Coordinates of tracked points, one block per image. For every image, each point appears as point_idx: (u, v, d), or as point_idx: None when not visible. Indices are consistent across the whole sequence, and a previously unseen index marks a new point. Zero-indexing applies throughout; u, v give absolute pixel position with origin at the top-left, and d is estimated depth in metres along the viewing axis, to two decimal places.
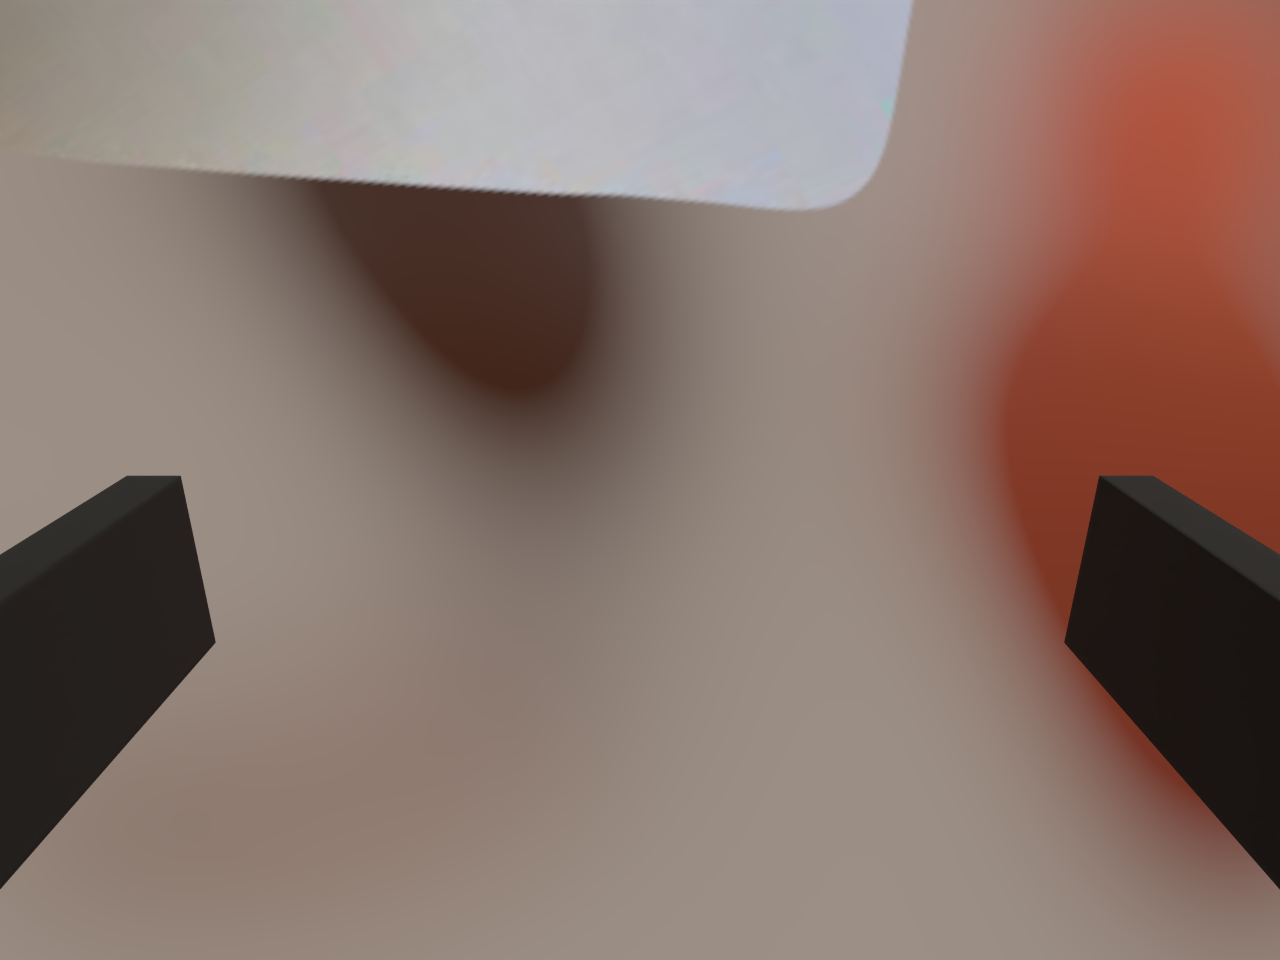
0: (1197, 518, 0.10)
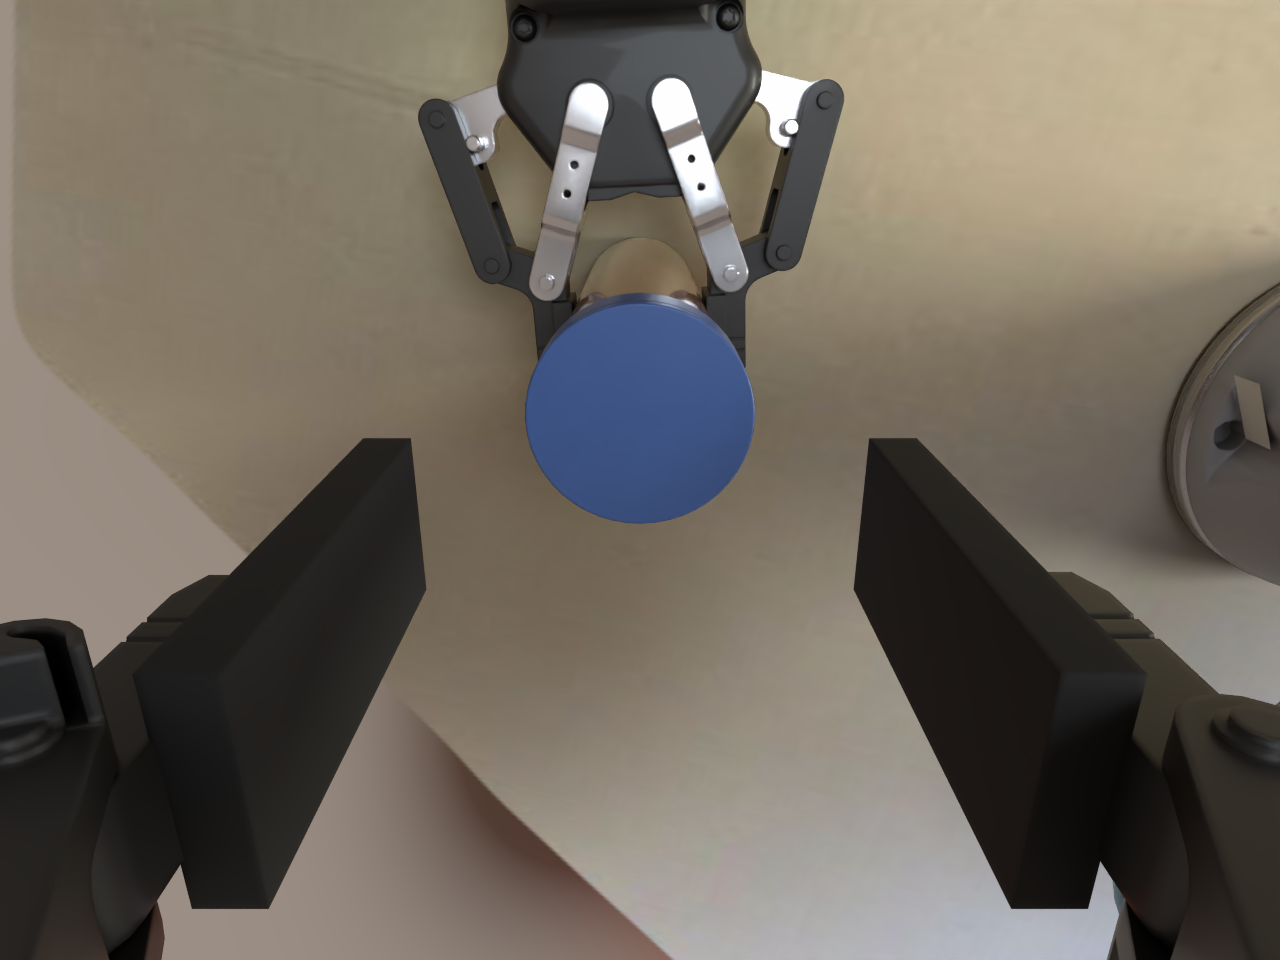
0: (927, 471, 0.12)
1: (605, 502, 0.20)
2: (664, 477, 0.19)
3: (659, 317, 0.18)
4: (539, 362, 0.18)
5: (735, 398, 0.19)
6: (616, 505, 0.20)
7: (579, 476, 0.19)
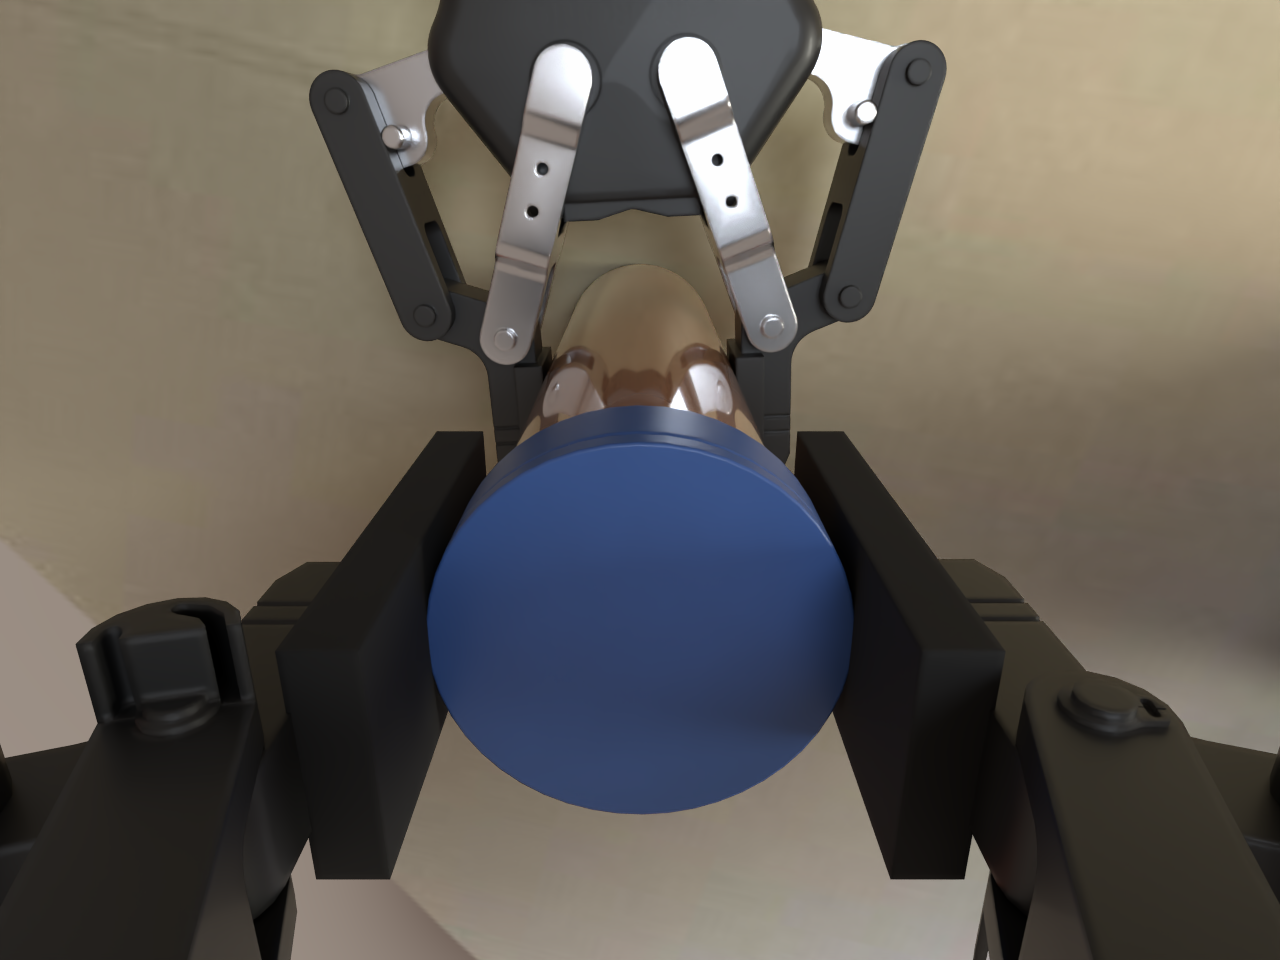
0: (845, 463, 0.12)
1: (578, 781, 0.11)
2: (685, 742, 0.11)
3: (678, 469, 0.09)
4: (449, 549, 0.10)
5: (820, 611, 0.10)
6: (598, 786, 0.11)
7: (530, 740, 0.11)
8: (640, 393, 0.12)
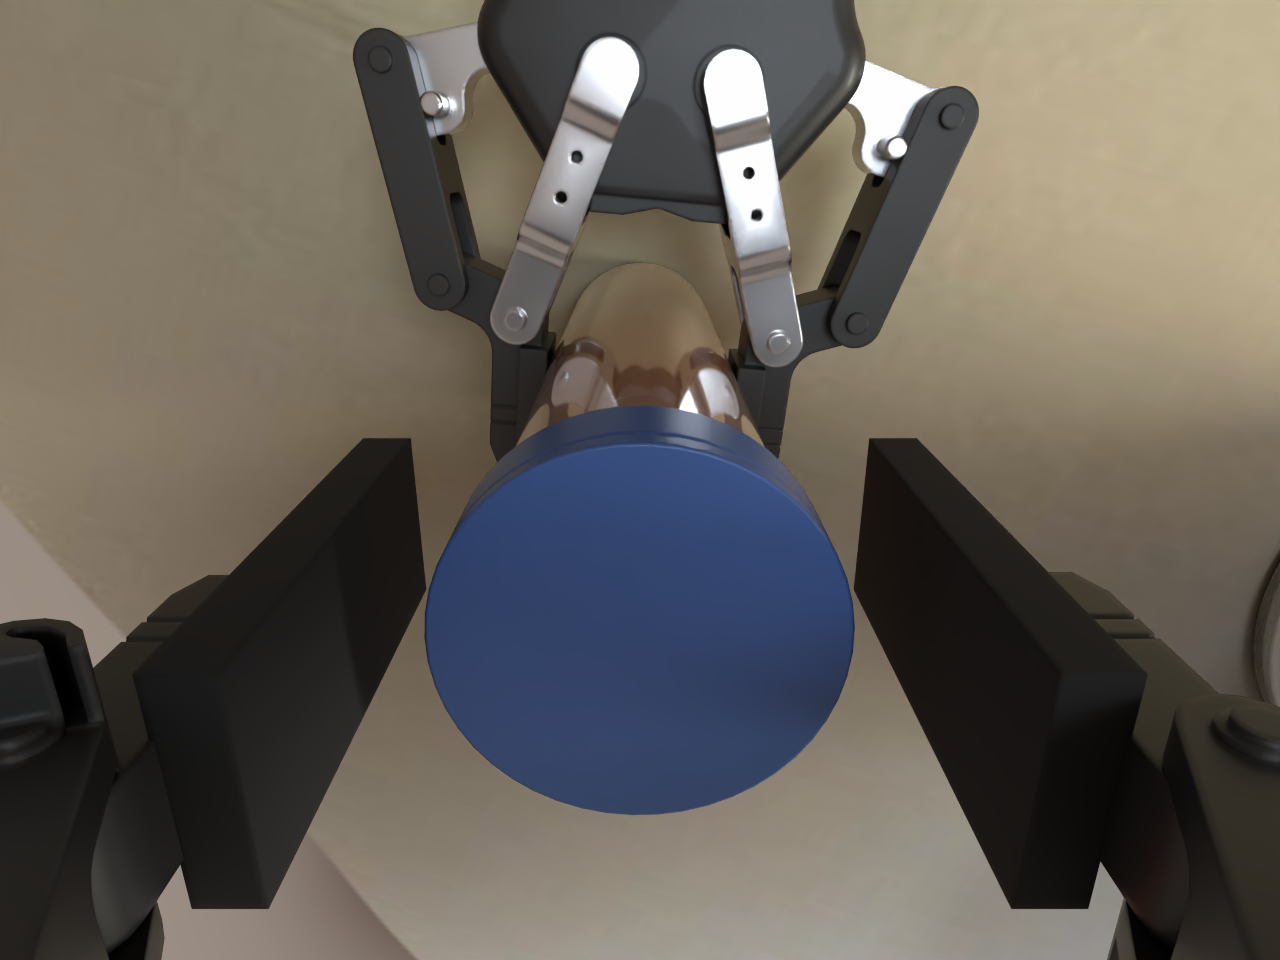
0: (927, 471, 0.12)
1: (787, 726, 0.11)
2: (764, 624, 0.10)
3: (453, 585, 0.10)
4: (509, 775, 0.11)
5: (631, 477, 0.09)
6: (798, 710, 0.10)
7: (726, 756, 0.11)
8: (660, 390, 0.12)
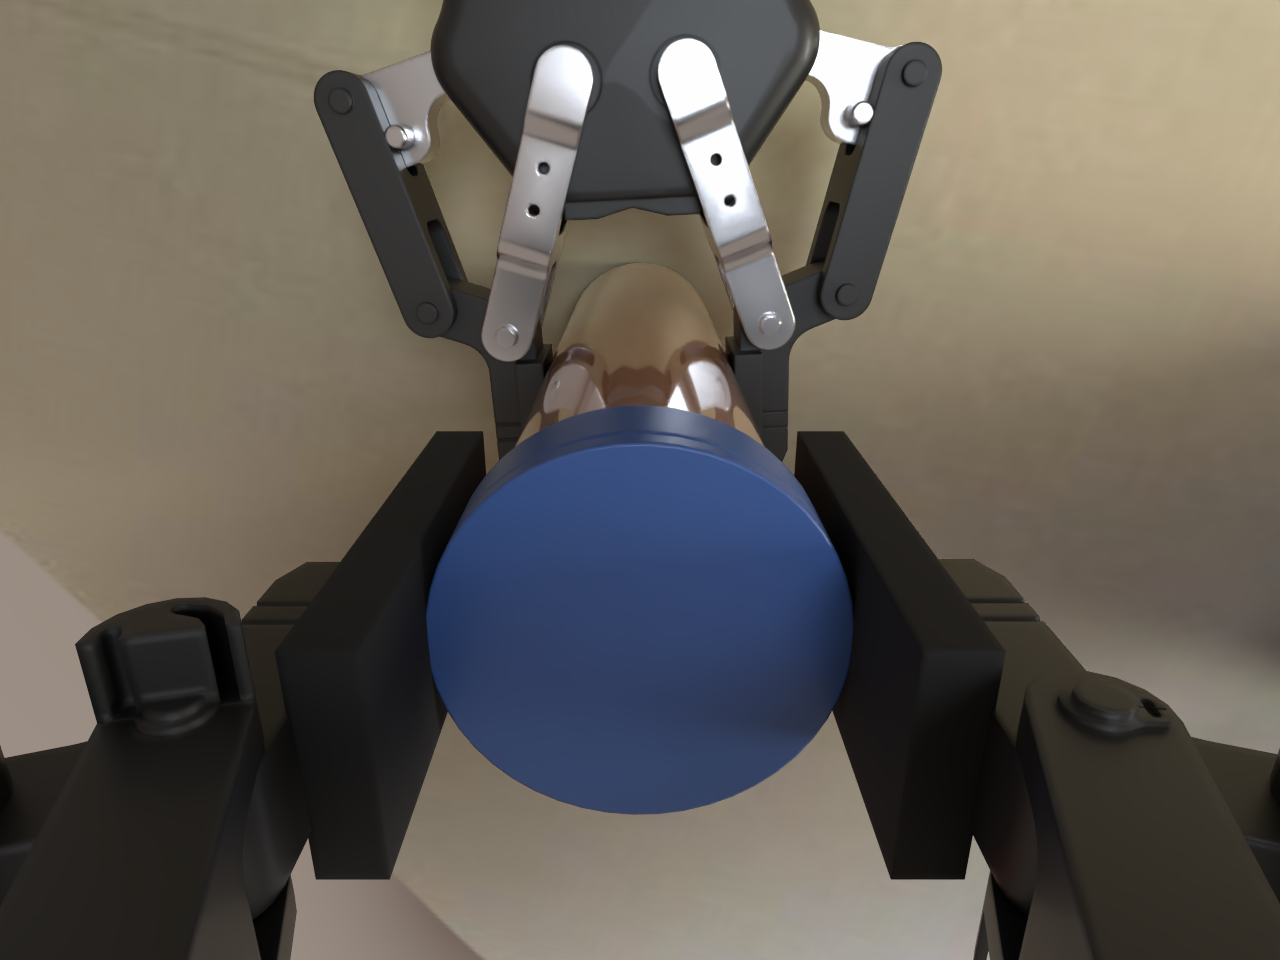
0: (845, 462, 0.12)
1: (800, 708, 0.10)
2: (760, 610, 0.10)
3: (448, 607, 0.10)
4: (532, 788, 0.11)
5: (605, 479, 0.09)
6: (808, 692, 0.10)
7: (743, 745, 0.11)
8: (640, 388, 0.12)
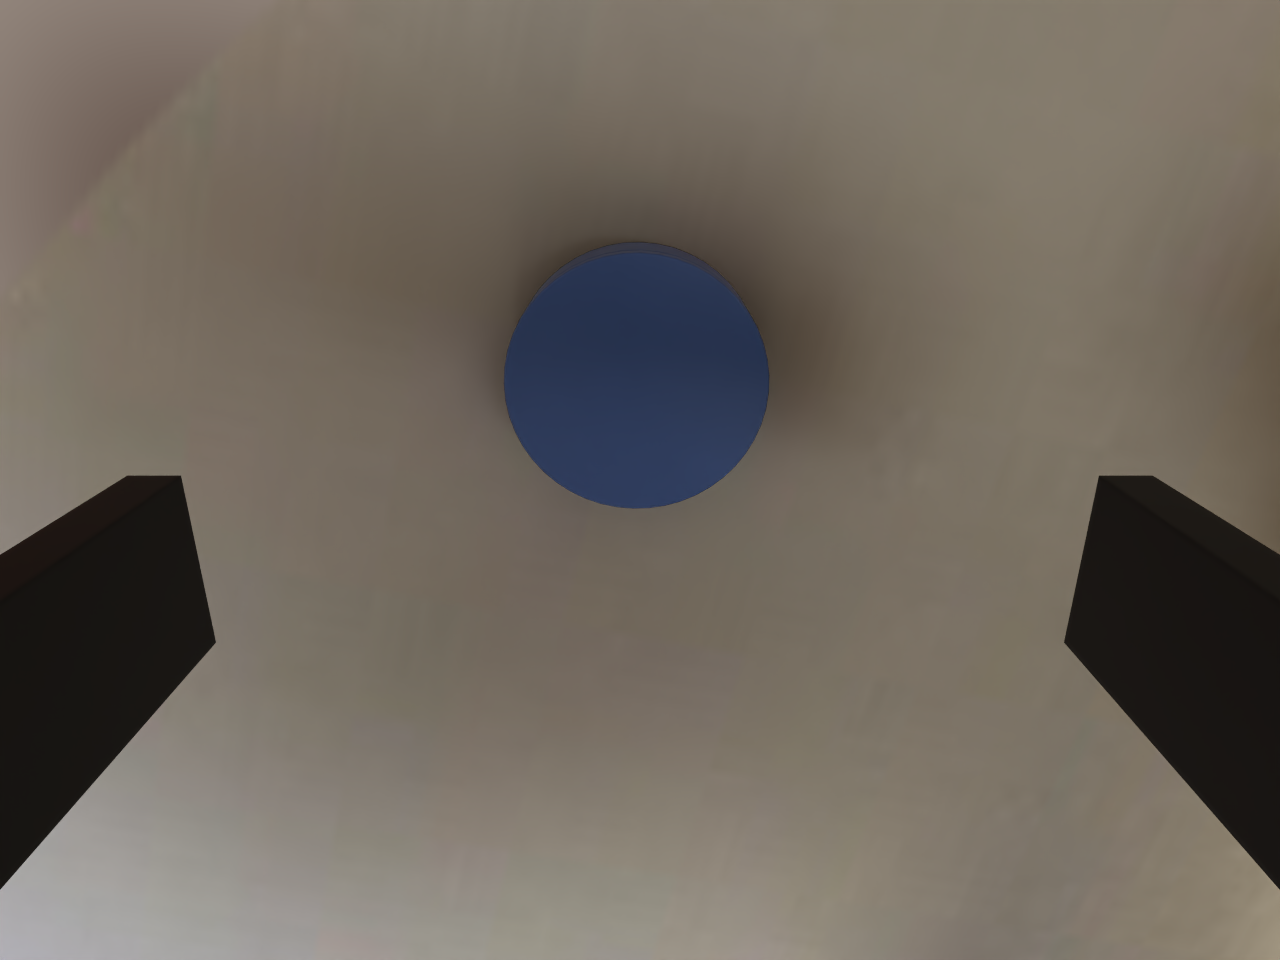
0: (1196, 518, 0.10)
1: (736, 432, 0.17)
2: (710, 363, 0.16)
3: (519, 362, 0.16)
4: (568, 489, 0.17)
5: (615, 277, 0.16)
6: (741, 420, 0.17)
7: (702, 458, 0.17)
8: None
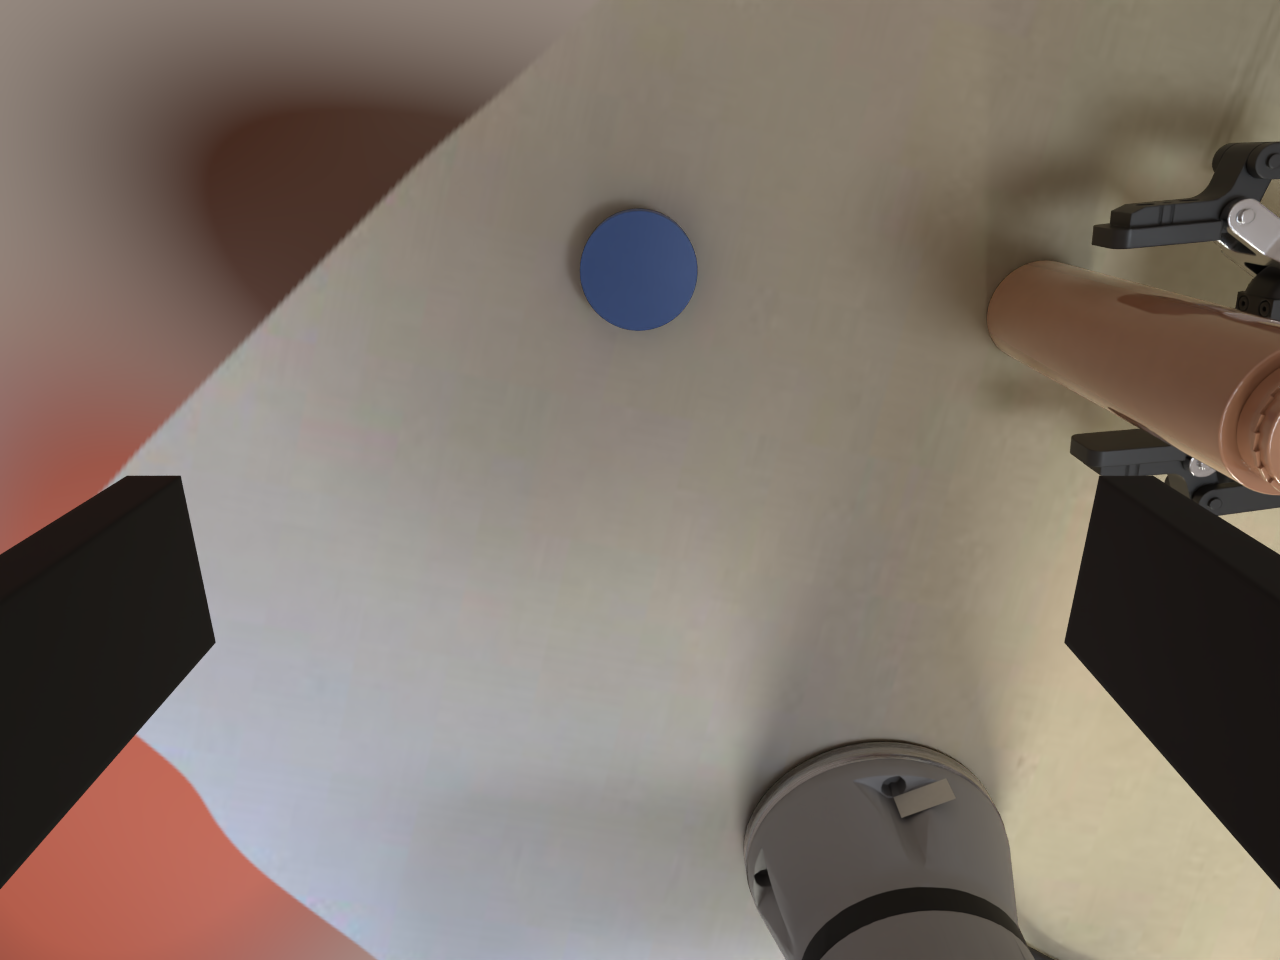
0: (1197, 518, 0.10)
1: (683, 292, 0.37)
2: (671, 260, 0.37)
3: (587, 260, 0.37)
4: (607, 320, 0.38)
5: (629, 221, 0.36)
6: (685, 287, 0.37)
7: (668, 305, 0.38)
8: None
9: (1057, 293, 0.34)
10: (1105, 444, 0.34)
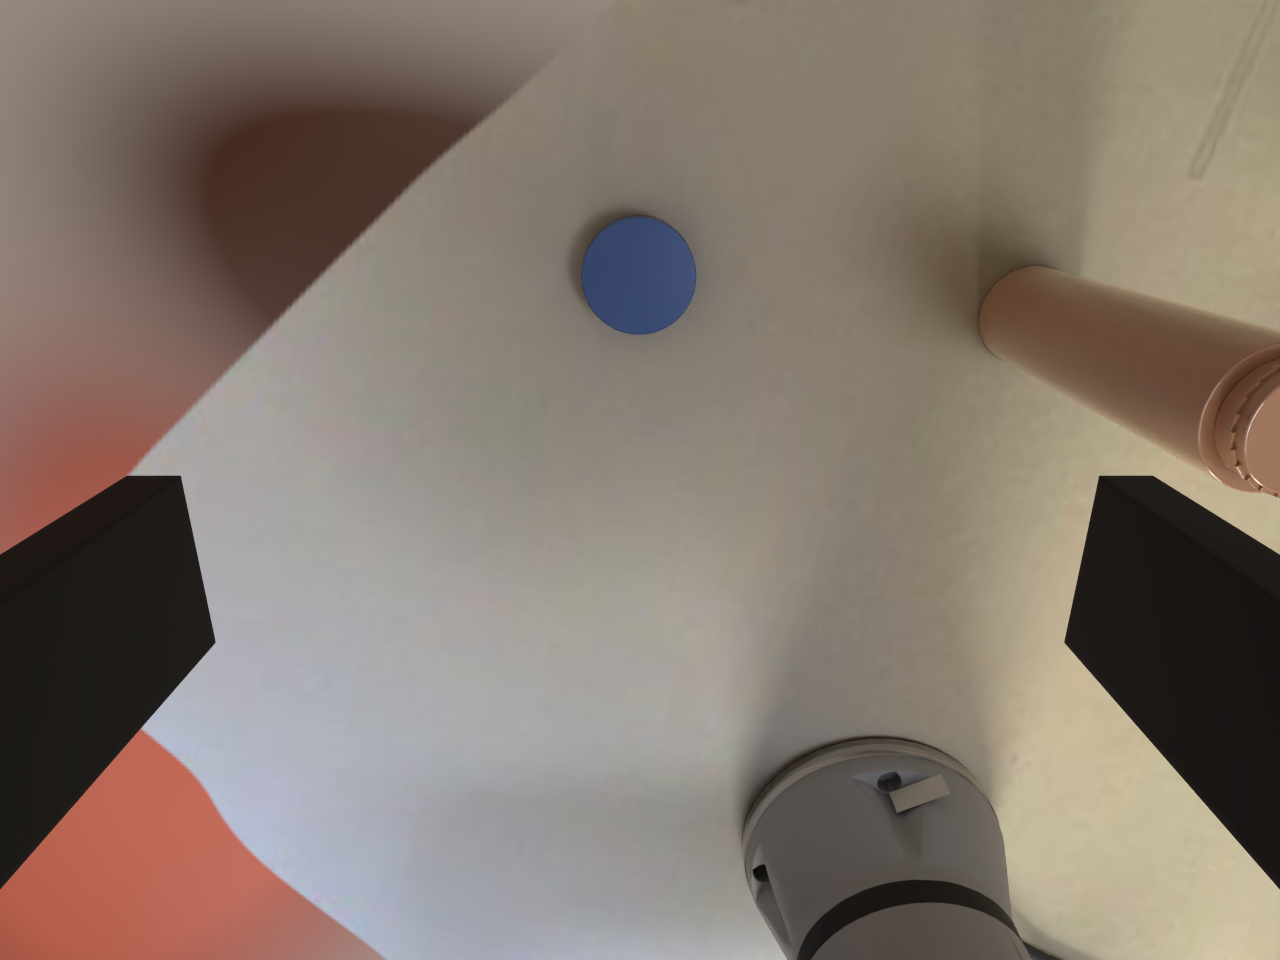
0: (1197, 518, 0.10)
1: (682, 297, 0.38)
2: (670, 266, 0.38)
3: (588, 265, 0.38)
4: (608, 325, 0.39)
5: (630, 228, 0.37)
6: (684, 292, 0.38)
7: (667, 310, 0.39)
8: None
9: (1046, 298, 0.35)
10: None
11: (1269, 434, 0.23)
